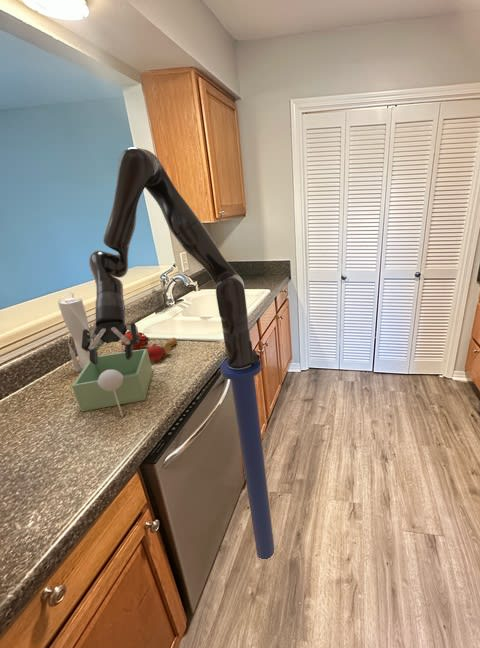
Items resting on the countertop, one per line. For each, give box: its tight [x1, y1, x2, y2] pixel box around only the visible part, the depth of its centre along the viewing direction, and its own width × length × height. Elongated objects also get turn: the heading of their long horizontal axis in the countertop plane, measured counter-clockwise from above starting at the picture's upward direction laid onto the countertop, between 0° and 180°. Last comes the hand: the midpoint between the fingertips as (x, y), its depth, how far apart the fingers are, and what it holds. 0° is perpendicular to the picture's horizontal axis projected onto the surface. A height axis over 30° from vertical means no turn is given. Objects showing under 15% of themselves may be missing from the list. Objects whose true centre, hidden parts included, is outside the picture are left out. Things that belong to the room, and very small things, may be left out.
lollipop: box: [98, 369, 124, 418], centre depth 90 cm, size 6×6×15 cm
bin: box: [71, 348, 154, 412], centre depth 105 cm, size 18×20×9 cm
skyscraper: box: [57, 292, 100, 374], centre depth 118 cm, size 8×8×28 cm
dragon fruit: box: [120, 330, 151, 350], centre depth 135 cm, size 8×8×12 cm
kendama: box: [146, 337, 178, 362], centre depth 130 cm, size 8×6×18 cm
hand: (111, 361), depth 91 cm, fingers open, 8 cm apart
